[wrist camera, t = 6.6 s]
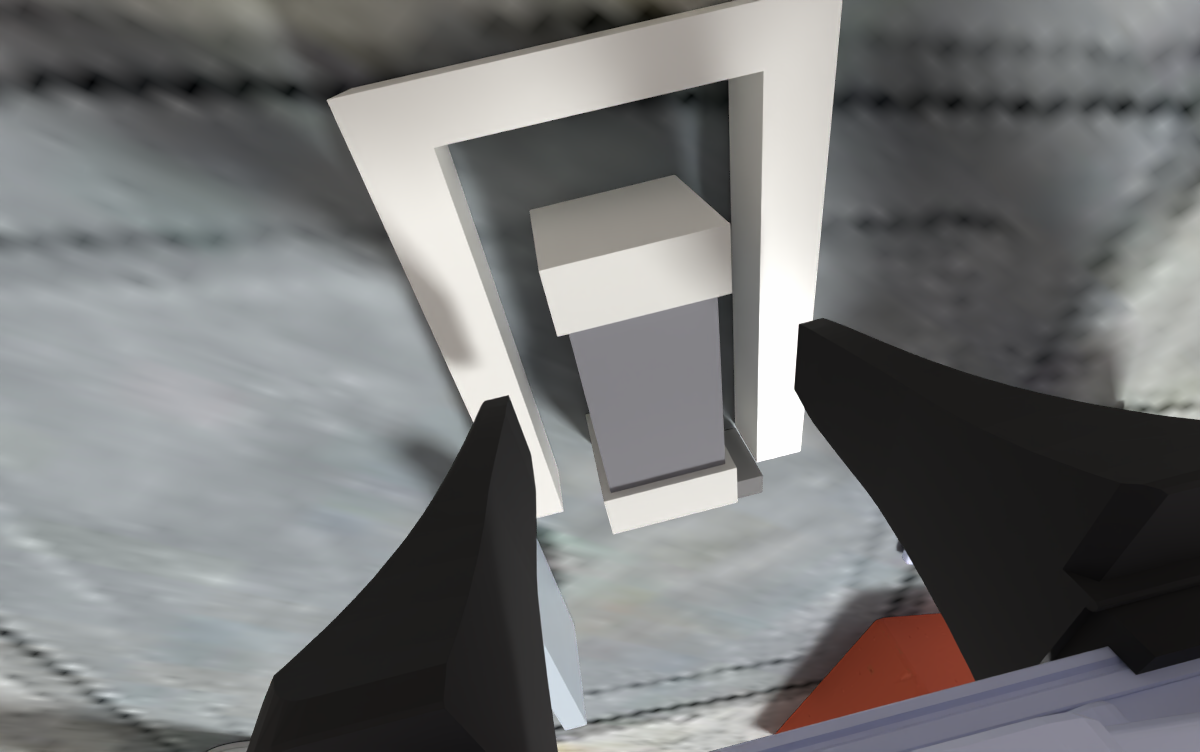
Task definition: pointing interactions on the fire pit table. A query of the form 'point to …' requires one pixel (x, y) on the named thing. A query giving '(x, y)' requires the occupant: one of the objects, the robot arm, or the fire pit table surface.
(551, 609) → the cover
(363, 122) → the white frame
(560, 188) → the fire pit table surface
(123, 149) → the fire pit table surface
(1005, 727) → the robot arm
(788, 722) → the brick
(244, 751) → the spray can
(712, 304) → the grey white long block
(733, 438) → the block
